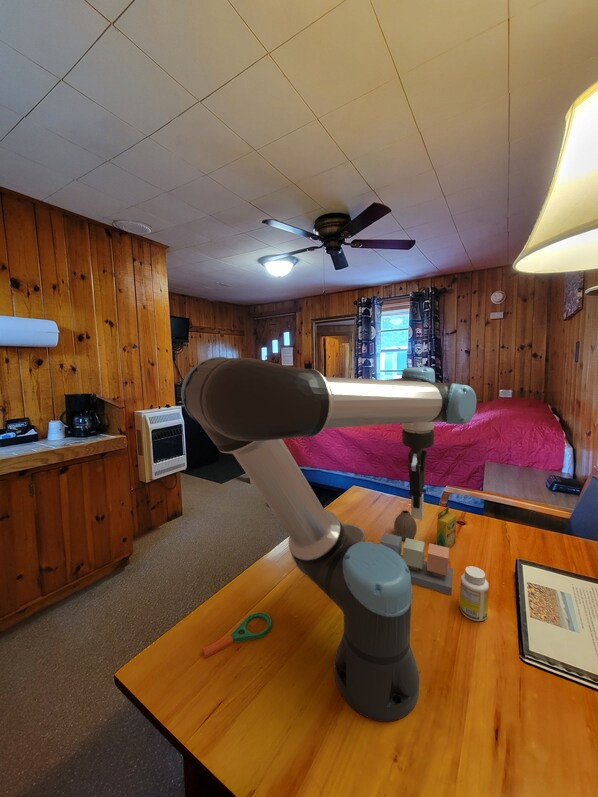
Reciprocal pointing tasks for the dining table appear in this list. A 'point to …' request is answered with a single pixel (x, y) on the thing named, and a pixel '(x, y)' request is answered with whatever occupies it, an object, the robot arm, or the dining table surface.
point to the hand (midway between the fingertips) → (417, 517)
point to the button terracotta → (438, 559)
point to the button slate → (392, 542)
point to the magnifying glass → (236, 637)
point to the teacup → (354, 532)
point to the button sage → (413, 552)
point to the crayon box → (446, 529)
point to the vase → (405, 525)
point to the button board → (431, 578)
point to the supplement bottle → (474, 594)
